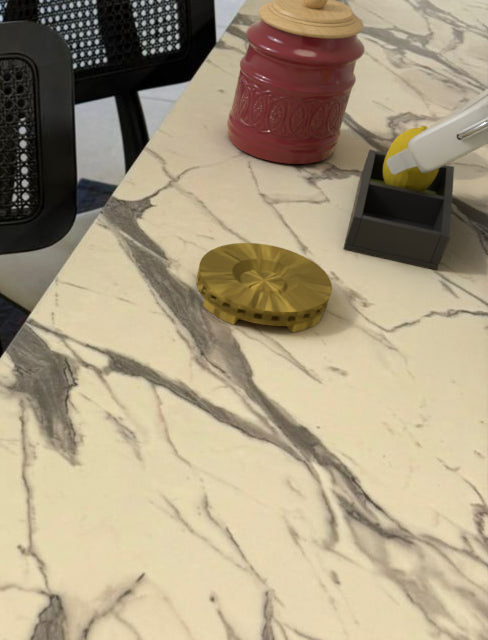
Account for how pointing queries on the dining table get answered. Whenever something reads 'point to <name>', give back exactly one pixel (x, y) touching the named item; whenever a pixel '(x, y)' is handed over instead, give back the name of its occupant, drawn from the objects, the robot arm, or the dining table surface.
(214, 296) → the gold flat round disc
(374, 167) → the pad holder
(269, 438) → the dining table surface
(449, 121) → the robot arm
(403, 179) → the lemon
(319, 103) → the kitchen canister
